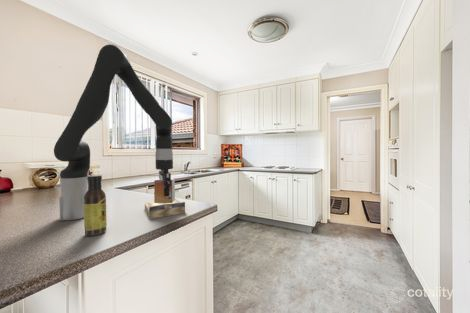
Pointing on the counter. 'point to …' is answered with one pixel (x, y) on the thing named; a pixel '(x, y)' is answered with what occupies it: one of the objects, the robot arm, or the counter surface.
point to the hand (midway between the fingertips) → (164, 194)
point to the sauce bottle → (94, 207)
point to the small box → (159, 192)
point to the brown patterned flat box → (164, 208)
